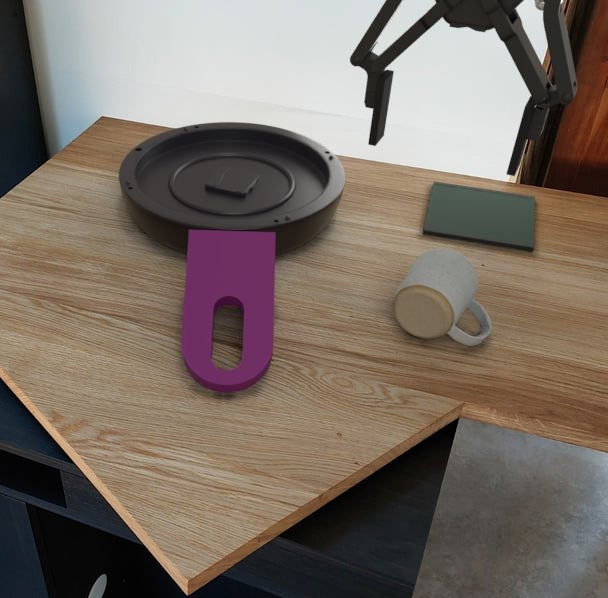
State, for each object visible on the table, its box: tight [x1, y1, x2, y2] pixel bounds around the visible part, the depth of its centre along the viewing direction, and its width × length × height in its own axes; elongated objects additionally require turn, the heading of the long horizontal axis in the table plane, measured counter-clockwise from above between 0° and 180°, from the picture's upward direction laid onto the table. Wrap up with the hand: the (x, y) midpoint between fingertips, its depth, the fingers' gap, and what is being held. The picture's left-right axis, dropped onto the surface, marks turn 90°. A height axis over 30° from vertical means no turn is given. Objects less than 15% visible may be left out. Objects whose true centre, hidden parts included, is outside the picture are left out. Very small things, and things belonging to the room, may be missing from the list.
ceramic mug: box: [392, 247, 493, 347], centre depth 85 cm, size 11×8×8 cm
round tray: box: [118, 121, 346, 256], centre depth 105 cm, size 30×6×30 cm
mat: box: [422, 180, 536, 253], centre depth 106 cm, size 14×14×1 cm
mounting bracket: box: [180, 230, 276, 393], centre depth 85 cm, size 9×8×18 cm
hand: (442, 154), depth 76 cm, fingers open, 13 cm apart
